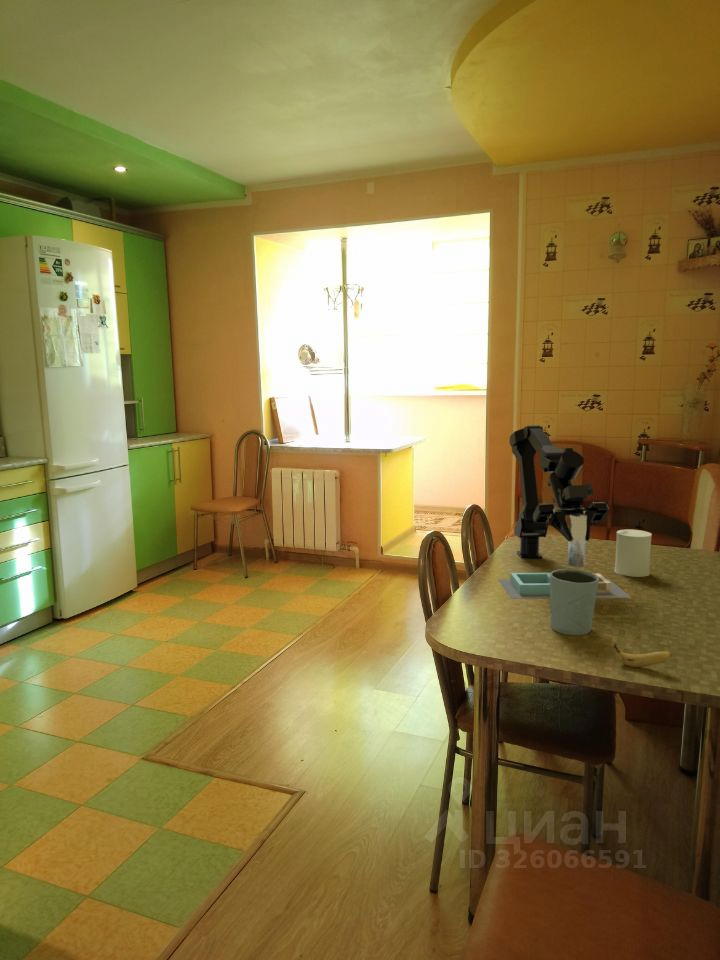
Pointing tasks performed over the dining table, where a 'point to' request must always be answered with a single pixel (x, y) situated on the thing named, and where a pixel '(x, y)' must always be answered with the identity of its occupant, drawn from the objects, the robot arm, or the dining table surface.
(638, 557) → the can
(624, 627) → the dining table surface
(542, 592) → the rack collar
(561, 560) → the dining table surface
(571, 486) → the robot arm
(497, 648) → the dining table surface
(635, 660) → the banana
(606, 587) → the socket block
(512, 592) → the mat
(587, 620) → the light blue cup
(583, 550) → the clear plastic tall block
